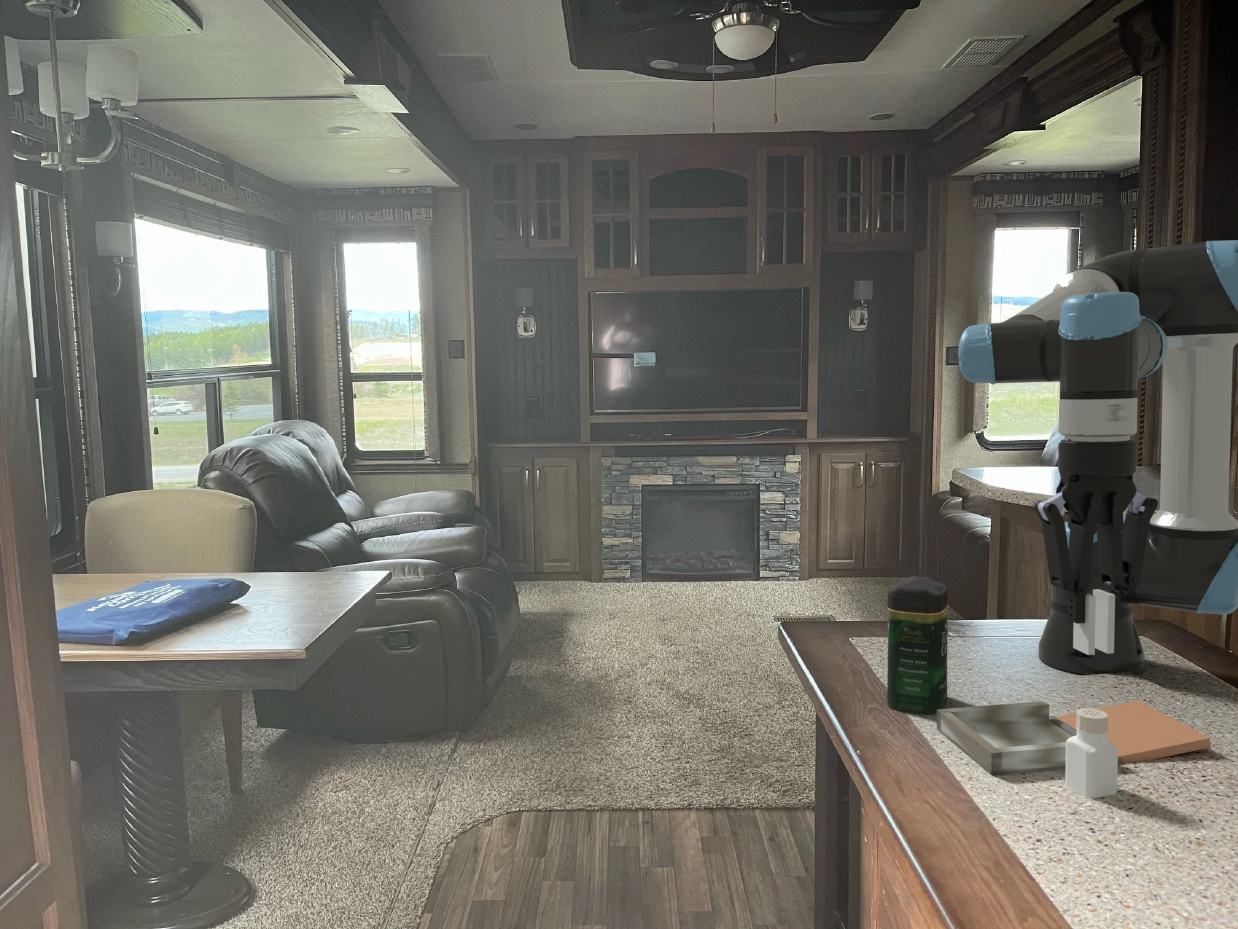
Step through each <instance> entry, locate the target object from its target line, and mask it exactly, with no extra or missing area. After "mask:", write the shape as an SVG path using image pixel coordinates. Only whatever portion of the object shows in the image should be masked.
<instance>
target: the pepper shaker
mask: <svg viewBox="0 0 1238 929" xmlns="http://www.w3.org/2000/svg"><path fill="white" fill-rule="evenodd" d="M1097 709H1098V708H1090V707H1087V708H1086V707H1085V708H1079V709H1077V710H1076V712H1075V713H1076V729H1077V735H1076V736H1073V737H1070V738H1068V739H1067V741H1066V769H1065V782H1064V783H1065V785H1066V786H1067V787H1069V789H1072V790H1074V791H1075V792H1077V793H1079V794H1080V795H1082V796H1084V797H1085V798H1089V799H1097V798H1102V797H1107V796H1112V795H1116V794H1117V793H1118V764H1119V763H1118V748H1117V747H1116V745H1114V744H1113V743H1112V742H1110V741H1109V740H1107V733H1108V714H1107V713H1105V712H1104V711H1101V710H1097Z"/></svg>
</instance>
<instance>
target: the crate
mask: <svg viewBox="0 0 1238 929" xmlns="http://www.w3.org/2000/svg"><path fill="white" fill-rule="evenodd" d="M1049 717H1050V704H1049V703H1048V702H1047V701H1045V700H1040V701H1027V702H1017V703H1003V704H989V705H977V706H976V705H975V706H965V707H964V706H963V707H952V708H951V707H950V708H944V709H937V714H936V730H937V731H938V732H939V733H940V734H941V735H942V736H943V737H945V738H946V739H947V740H948V741H950V742H951V743H952V744H953V745H954V746H955V747H956V748H958V749H959V750H960V751H962V753H964V754H965V755H966V756H968V757H969V758H970V760H972V761H974V763H976V764H977V765H978V766H980V767H981V768H982V769H983V770H985V771H986V773H988V774H989V775H991V776H1004V775H1013V774H1015V775H1016V774H1027V773H1035V772H1036V773H1038V772H1048V771H1049V772H1050V771H1058V770H1059V771H1060V770H1066V741H1067V739H1068V738H1070V737H1073V736H1072V735H1070V734H1068V733H1067V732H1065V731H1064V730H1062V729H1061V728H1059V727H1058V726H1056V725H1054V724H1053V723H1051V722H1050V721H1049Z"/></svg>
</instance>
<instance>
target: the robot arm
mask: <svg viewBox="0 0 1238 929" xmlns="http://www.w3.org/2000/svg"><path fill="white" fill-rule="evenodd" d="M1235 345H1238V240H1235V239H1233V240H1231V239H1230V240H1206V241H1202V242H1193V243H1192V242H1191V243H1183V244H1176V245H1168V246H1158V247H1152V248H1150V247H1149V248H1141V249H1140V248H1137V249H1130V250H1125V251H1121V252H1117V253H1114V254H1110V255H1106V256H1104V257H1102V258H1099V259H1096V260H1094V261H1092V262H1089V263H1087V264H1086V265H1085V264H1084V265H1083V266H1081V267H1079V268H1077V269H1074V270H1073V271H1071V272H1070V273H1068V274H1066V275H1064V277H1062V278H1061V279H1060V280H1059V281H1058V282H1057V283H1056V285H1055V286H1054V288H1053V290H1052V292H1050V293H1048V294H1047V295H1045V296H1044V297H1042V298H1040V299H1039V300H1037V301H1035V302H1034V303H1033V304H1031V305H1029V306H1027V307H1026V308H1024V309H1022V310H1021V311H1019V312H1018V313H1016V314H1014V315H1013V316H1011V317H1009V318H1008V319H1006V320H1004V321H1002V322H994V323H993V322H992V323H991V322H986V323H981V324H974V325H970V326H968V327H966V328H965V329H964V330H963V332H962V334H961V337H960V339H959V344H958V350H957V354H958V365H959V369H960V372H961V375H962V376H963V378H964V379H965V380H966V381H968V382H970V383H974V384H980V383H981V384H991V385H996V384H1015V383H1017V384H1019V383H1024V384H1025V383H1059V392H1058V393H1059V401H1058V428H1057V433H1058V434H1059V435H1060V436H1064V437H1063V438H1064V439H1061V440H1060V442H1058V446H1057V447H1058V449H1057V450H1058V454H1057V458H1058V459H1057V469H1058V470H1057V471H1058V472H1059V476H1060V477H1059V478H1060V480H1059V483H1058V485H1057V487H1056V489H1055V494H1054V495H1053V496H1050V497H1049V498H1048V499H1046V500H1045V501H1042V500H1037V501H1036V502H1034V505H1033V508H1034V510H1035V512H1036V514H1037V516H1038V518H1039V520H1040V521H1041V528H1042V533H1043V534H1042V535H1043V540H1044V548H1045V556H1046V562H1047V568H1048V569H1047V571H1048V575H1049V577H1048V578H1049V582H1050V595H1051V596H1050V613H1049V616H1048V618H1047V621H1046V624H1045V626H1044V629H1043V632H1042V634H1041V638H1040V640H1039V641H1038V658H1039V660H1040V661H1041V662H1043V663H1044V664H1046V665H1048V666H1050V667H1052V668H1055V669H1058V670H1061V671H1065V672H1070V673H1074V674H1080V675H1087V676H1093V675H1106V674H1118V673H1119V674H1121V673H1131V674H1132V675H1134V674H1138V673H1140V672H1142V671H1143V670H1144V669H1145V653H1144V648H1143V645H1142V643H1141V640H1140V637H1139V635H1138V632H1137V628H1136V625H1135V623H1134V618H1133V605H1140V606H1148V607H1153V608H1154V607H1156V608H1164V609H1170V610H1177V611H1186V612H1191V613H1192V612H1193V613H1196V614H1199V615H1200V614H1211V615H1229V614H1232V613H1234V612H1235V611H1236V610H1237V609H1238V520H1237V519H1236V518H1235V517H1234V516H1233V515H1232V514H1230V511H1229V496H1230V495H1229V492H1230V465H1231V464H1230V459H1231V428H1232V427H1231V426H1232V425H1231V424H1232V423H1231V422H1232V394H1233V392H1232V390H1233V386H1232V385H1233V357H1234V356H1233V354H1234V347H1235ZM1160 366H1162V396H1161V398H1162V400H1161V402H1162V404H1161V406H1162V407H1161V444H1160V448H1161V449H1160V452H1161V453H1160V492H1159V494H1160V495H1159V496H1160V498H1159V500H1158V499H1156V498H1154V497H1148V496H1145V495H1143V494H1141V493H1140V492H1138V491H1137V485H1136V484H1135V482H1134V478H1133V476H1134V474H1135V473H1136V471H1137V459H1138V458H1137V455H1138V454H1137V453H1138V443H1137V442H1135V440H1134V439H1131V436H1134V435H1136V434H1137V432H1138V393H1139V392H1138V389H1139V388H1138V383H1139V382H1138V381H1139V380H1140V379H1144V378H1145V377H1147V376H1149V375H1152V374H1153V373H1155V371H1157V369H1159V368H1160ZM1158 505H1159V509H1158V511H1156V510H1157V508H1158ZM1064 509H1065V510H1064ZM1126 510H1127V511H1126ZM1065 511H1066V512H1067V513H1068V518H1067V520H1068V521H1065V520H1064V518H1063V516H1064V515H1065ZM1125 511H1126V513H1125ZM1155 512H1156V513H1155ZM1124 513H1125V516H1124Z"/></svg>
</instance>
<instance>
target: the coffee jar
mask: <svg viewBox="0 0 1238 929" xmlns="http://www.w3.org/2000/svg"><path fill="white" fill-rule="evenodd" d="M948 592H949V590H948V588H947V586H946V585H945V584H944V583H942V581H940V580H939V579H938V578H934V577H927V576H914V575H909V576H908V578H905V579H903V580H900V581H898V582H896V583H895V584H893V585H892V586H891V587H890V588H889V589H888V591H887V603H886V605H887V608H886V609H887V613H886V614H887V676H886V677H887V678H886V681H887V682H886V683H887V685H886V704H887V707H888V708H889V709H892V710H894V711H897V712H902V713H907V714H913V715H914V714H915V715H923V716H924V715H928V716H930V715H931V716H932V715H937V709H945V707H946V706H947V702H948V625H949V624H948V621H949V620H948V619H949V618H948V616H949V615H948V614H949V612H948V611H949V604H948V603H949V600H948V599H949V598H948V597H949V596H948V594H949V593H948Z"/></svg>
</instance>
